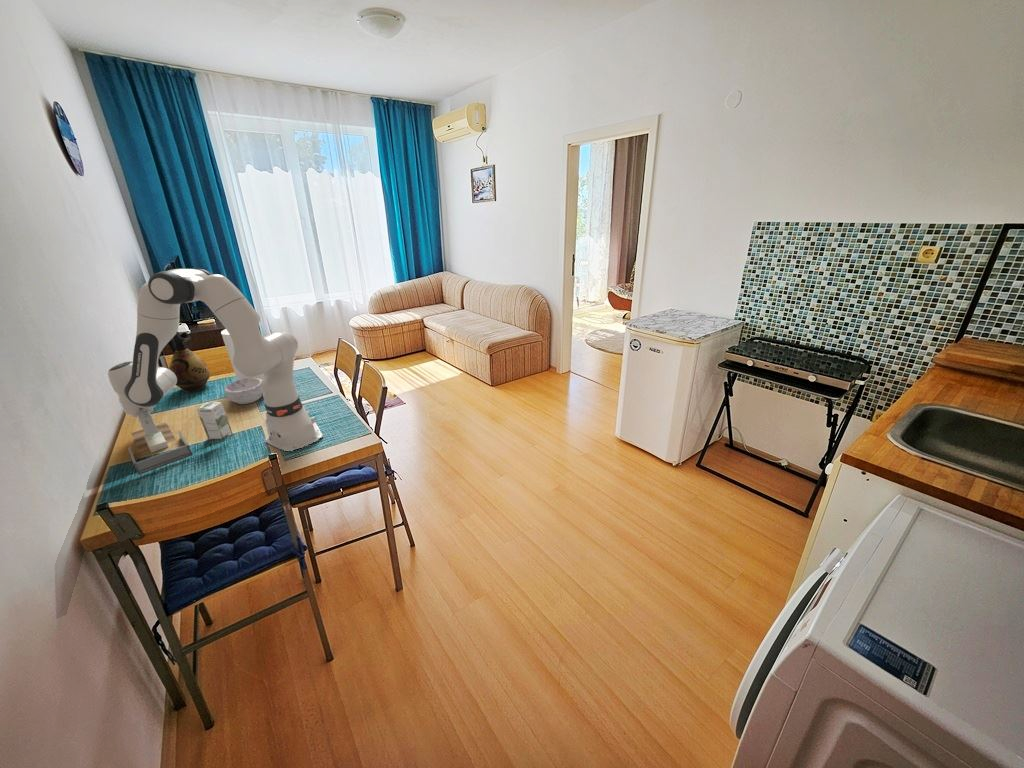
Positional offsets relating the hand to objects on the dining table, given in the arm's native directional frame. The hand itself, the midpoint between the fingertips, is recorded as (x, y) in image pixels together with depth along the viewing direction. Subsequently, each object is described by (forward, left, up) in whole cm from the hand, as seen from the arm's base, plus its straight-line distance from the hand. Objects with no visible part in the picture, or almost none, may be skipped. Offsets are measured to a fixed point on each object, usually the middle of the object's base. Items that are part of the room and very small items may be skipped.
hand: (154, 436), depth 155 cm
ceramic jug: (+48, -22, -2) cm, 53 cm away
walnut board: (+2, 0, -2) cm, 3 cm away
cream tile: (-9, 0, -1) cm, 9 cm away
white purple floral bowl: (+12, -36, -3) cm, 38 cm away
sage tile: (-4, 0, -1) cm, 4 cm away
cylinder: (+30, -46, -2) cm, 55 cm away
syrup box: (-17, -18, -2) cm, 24 cm away
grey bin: (-15, 0, -2) cm, 15 cm away
